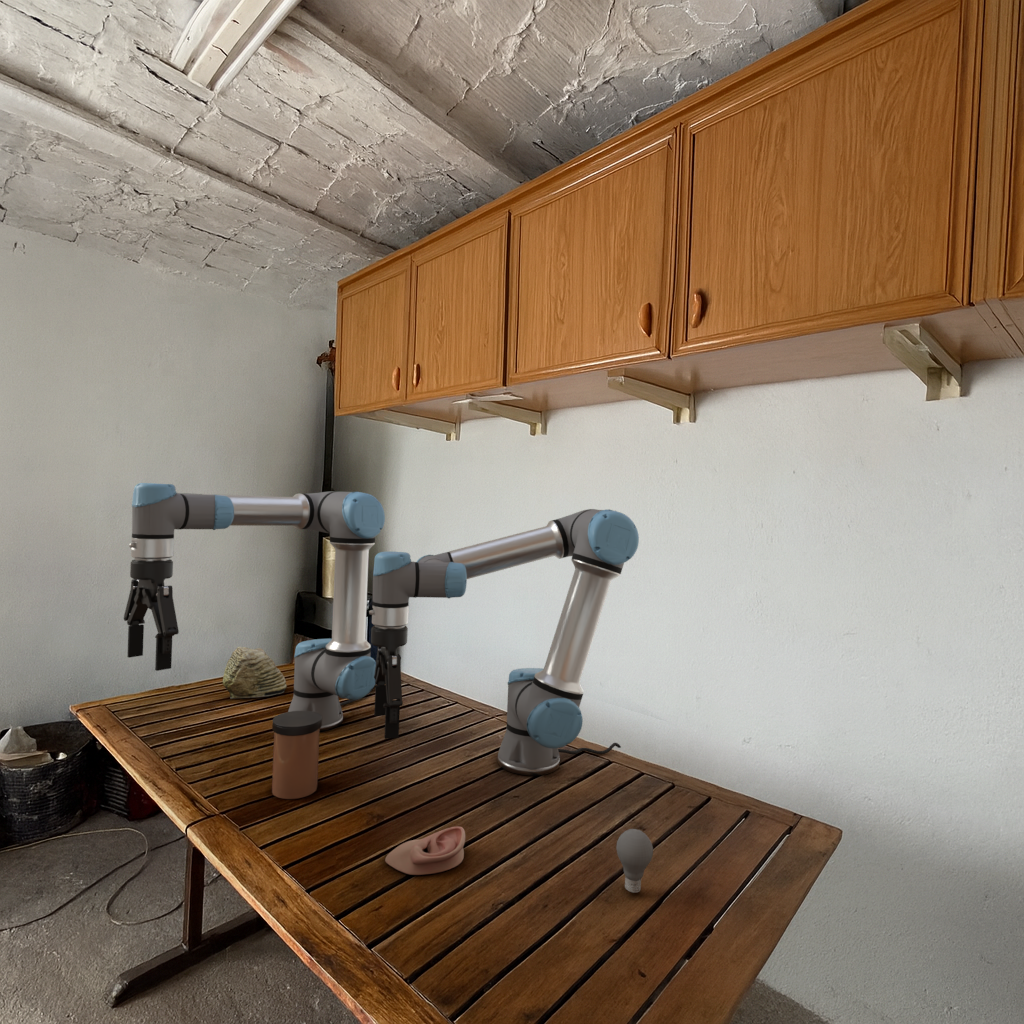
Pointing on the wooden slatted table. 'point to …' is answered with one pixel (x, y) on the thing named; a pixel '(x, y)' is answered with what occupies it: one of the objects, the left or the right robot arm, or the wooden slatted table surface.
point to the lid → (297, 723)
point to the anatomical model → (429, 853)
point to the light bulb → (634, 857)
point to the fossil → (252, 674)
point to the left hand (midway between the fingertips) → (148, 662)
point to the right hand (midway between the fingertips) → (385, 726)
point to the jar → (295, 765)
